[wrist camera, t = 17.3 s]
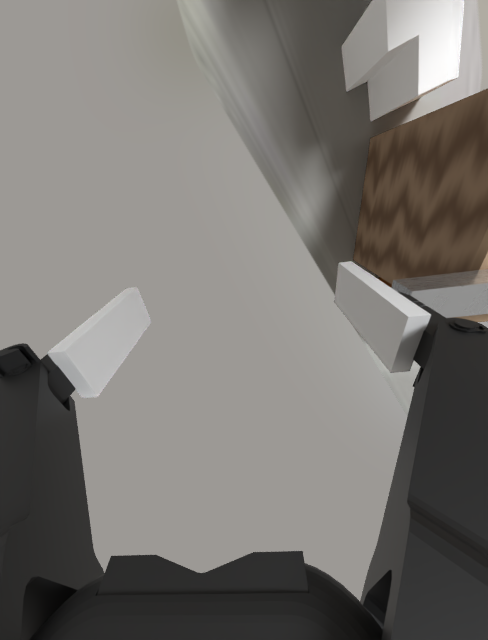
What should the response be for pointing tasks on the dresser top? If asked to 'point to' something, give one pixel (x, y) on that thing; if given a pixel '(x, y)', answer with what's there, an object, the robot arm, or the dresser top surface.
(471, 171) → the walnut shelf
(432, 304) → the steel bar
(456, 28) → the corner bracket
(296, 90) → the dresser top surface
